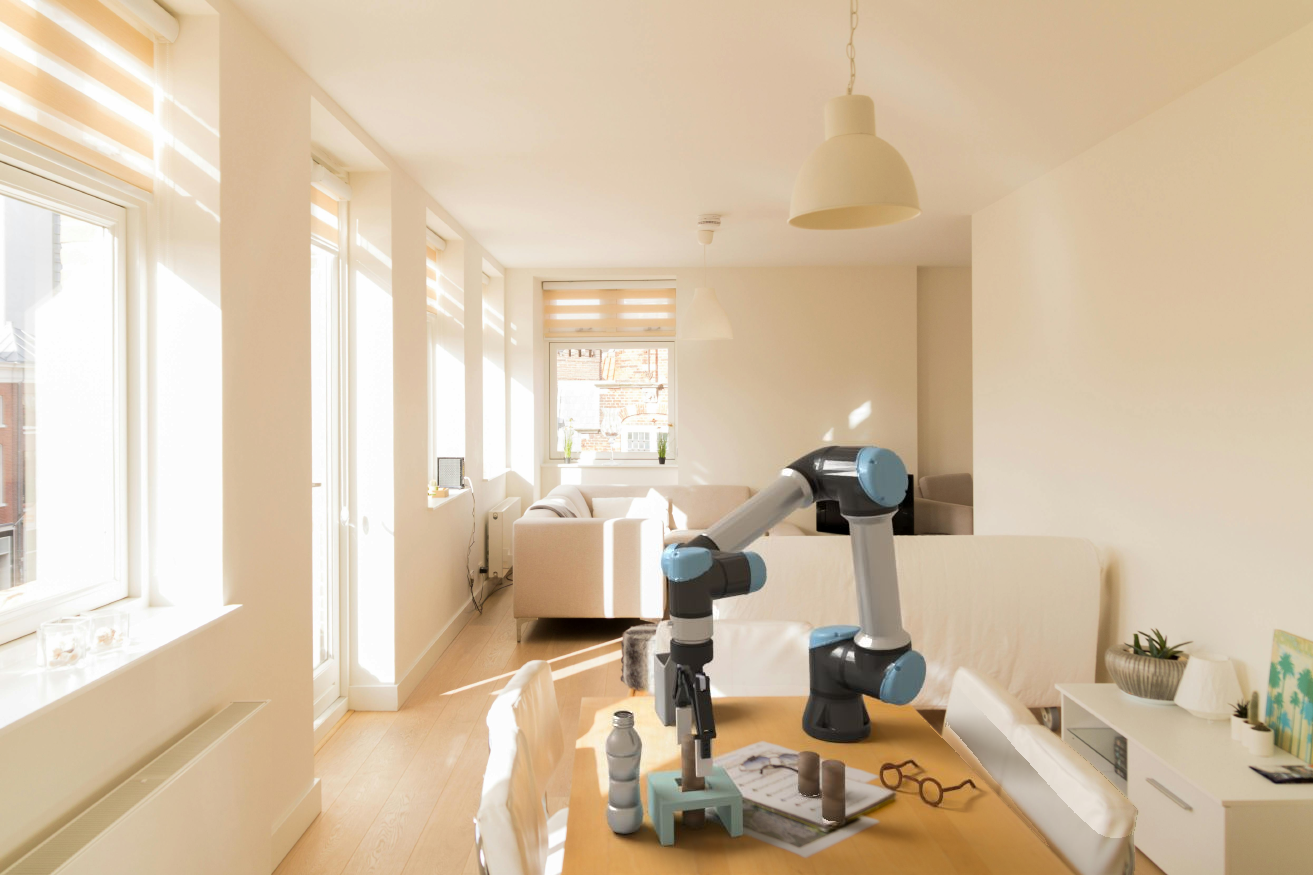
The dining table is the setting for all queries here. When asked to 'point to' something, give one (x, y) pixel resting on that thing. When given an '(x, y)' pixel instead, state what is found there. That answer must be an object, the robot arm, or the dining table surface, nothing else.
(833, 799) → the pin medium
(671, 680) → the planter
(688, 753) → the pin long
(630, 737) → the plastic bottle
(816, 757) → the pin short
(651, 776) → the bridge
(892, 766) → the glasses
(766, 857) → the dining table surface
